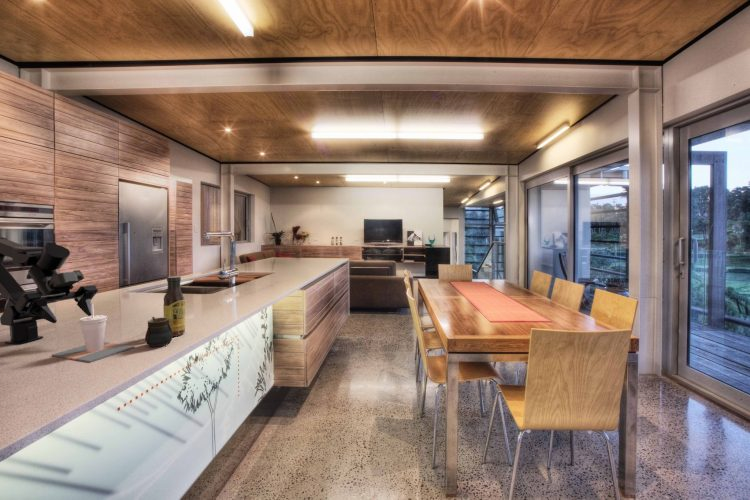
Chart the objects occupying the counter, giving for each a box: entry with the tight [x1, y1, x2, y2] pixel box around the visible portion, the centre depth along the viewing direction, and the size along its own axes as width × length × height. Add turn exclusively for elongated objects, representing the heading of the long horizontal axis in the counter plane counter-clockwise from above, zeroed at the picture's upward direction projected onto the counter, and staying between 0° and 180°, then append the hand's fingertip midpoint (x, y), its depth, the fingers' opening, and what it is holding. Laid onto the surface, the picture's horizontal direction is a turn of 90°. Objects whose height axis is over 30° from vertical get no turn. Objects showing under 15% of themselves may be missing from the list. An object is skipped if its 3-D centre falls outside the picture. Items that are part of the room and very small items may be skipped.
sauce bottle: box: [163, 275, 186, 337], centre depth 114 cm, size 6×6×20 cm
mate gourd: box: [144, 316, 174, 348], centre depth 104 cm, size 7×8×10 cm
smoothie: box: [78, 302, 108, 352], centre depth 99 cm, size 6×6×14 cm
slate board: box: [51, 341, 136, 364], centre depth 99 cm, size 16×12×1 cm
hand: (73, 318), depth 101 cm, fingers open, 9 cm apart
